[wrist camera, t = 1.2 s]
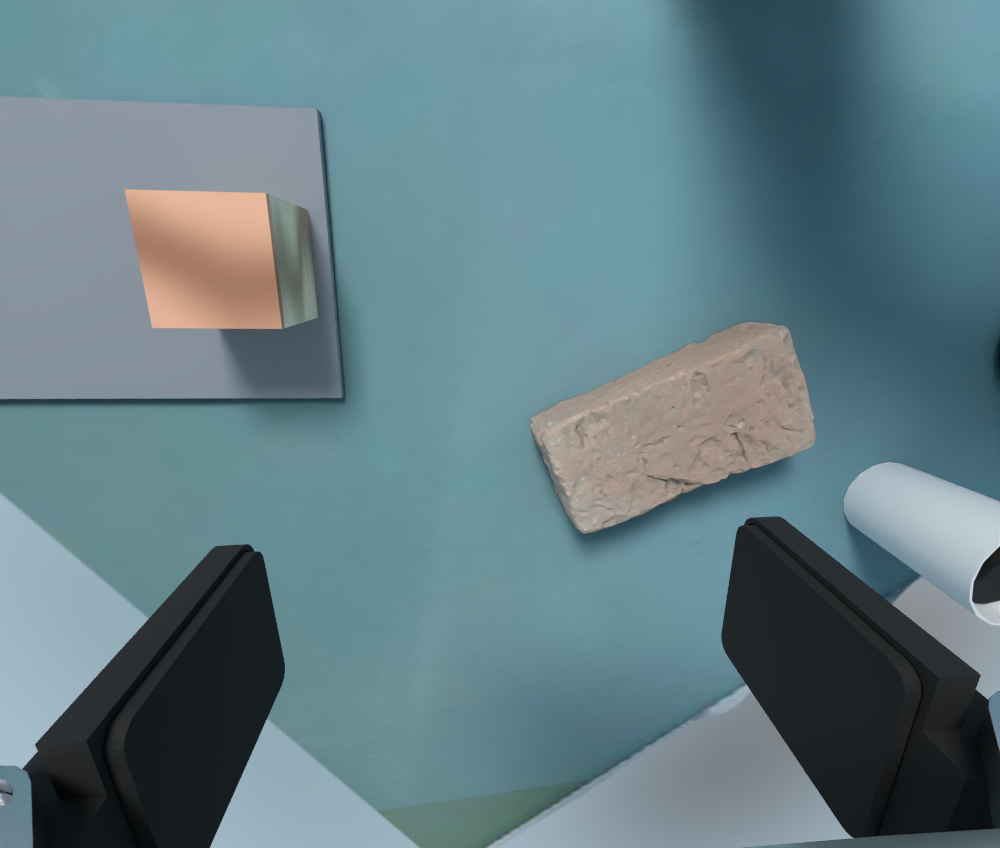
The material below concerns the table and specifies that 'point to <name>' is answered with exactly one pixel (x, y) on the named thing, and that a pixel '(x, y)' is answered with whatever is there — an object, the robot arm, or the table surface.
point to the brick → (677, 425)
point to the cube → (223, 259)
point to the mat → (114, 260)
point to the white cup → (933, 531)
